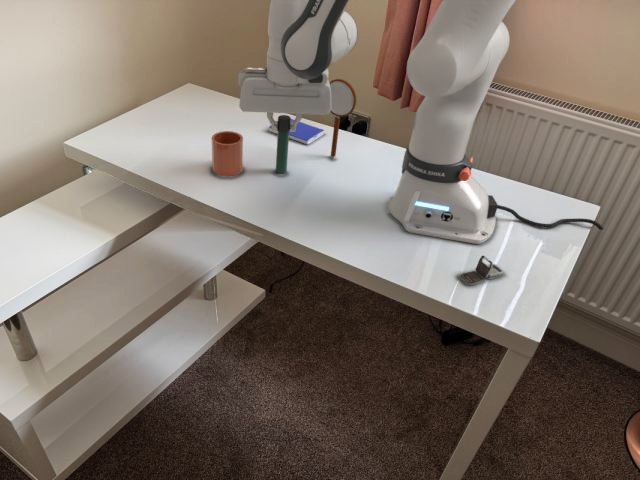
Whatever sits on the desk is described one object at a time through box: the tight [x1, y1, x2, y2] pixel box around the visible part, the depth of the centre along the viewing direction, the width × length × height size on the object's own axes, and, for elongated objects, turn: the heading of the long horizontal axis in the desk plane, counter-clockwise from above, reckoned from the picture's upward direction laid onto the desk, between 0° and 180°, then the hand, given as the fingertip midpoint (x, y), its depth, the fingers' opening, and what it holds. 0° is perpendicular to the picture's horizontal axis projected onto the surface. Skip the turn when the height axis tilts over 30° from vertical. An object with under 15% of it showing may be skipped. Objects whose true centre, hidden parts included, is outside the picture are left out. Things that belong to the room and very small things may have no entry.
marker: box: [275, 114, 292, 175], centre depth 133 cm, size 3×3×14 cm
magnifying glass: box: [329, 78, 357, 160], centre depth 138 cm, size 9×2×20 cm, turn 50°
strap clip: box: [459, 255, 505, 286], centre depth 108 cm, size 8×3×4 cm, turn 114°
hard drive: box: [268, 118, 325, 145], centre depth 154 cm, size 2×8×12 cm
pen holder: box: [211, 130, 244, 177], centre depth 136 cm, size 7×7×8 cm
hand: (283, 130), depth 131 cm, fingers closed on marker, 3 cm apart
